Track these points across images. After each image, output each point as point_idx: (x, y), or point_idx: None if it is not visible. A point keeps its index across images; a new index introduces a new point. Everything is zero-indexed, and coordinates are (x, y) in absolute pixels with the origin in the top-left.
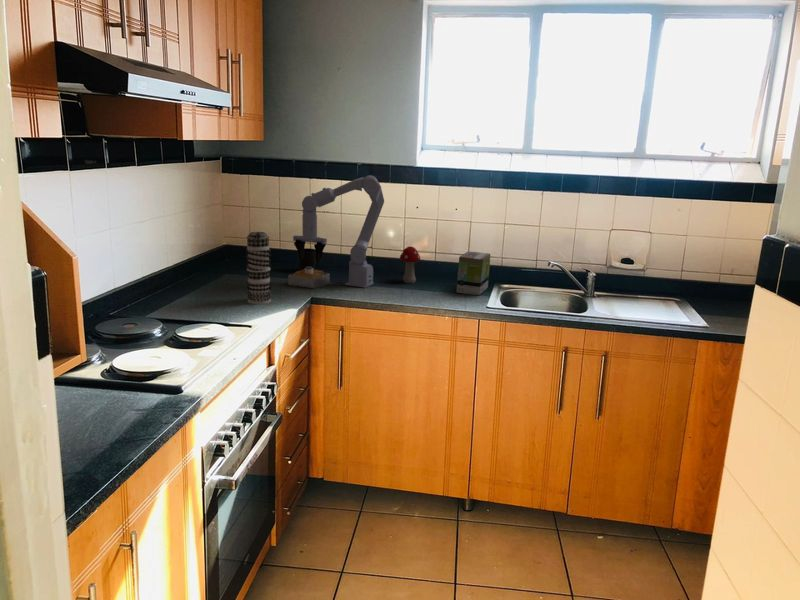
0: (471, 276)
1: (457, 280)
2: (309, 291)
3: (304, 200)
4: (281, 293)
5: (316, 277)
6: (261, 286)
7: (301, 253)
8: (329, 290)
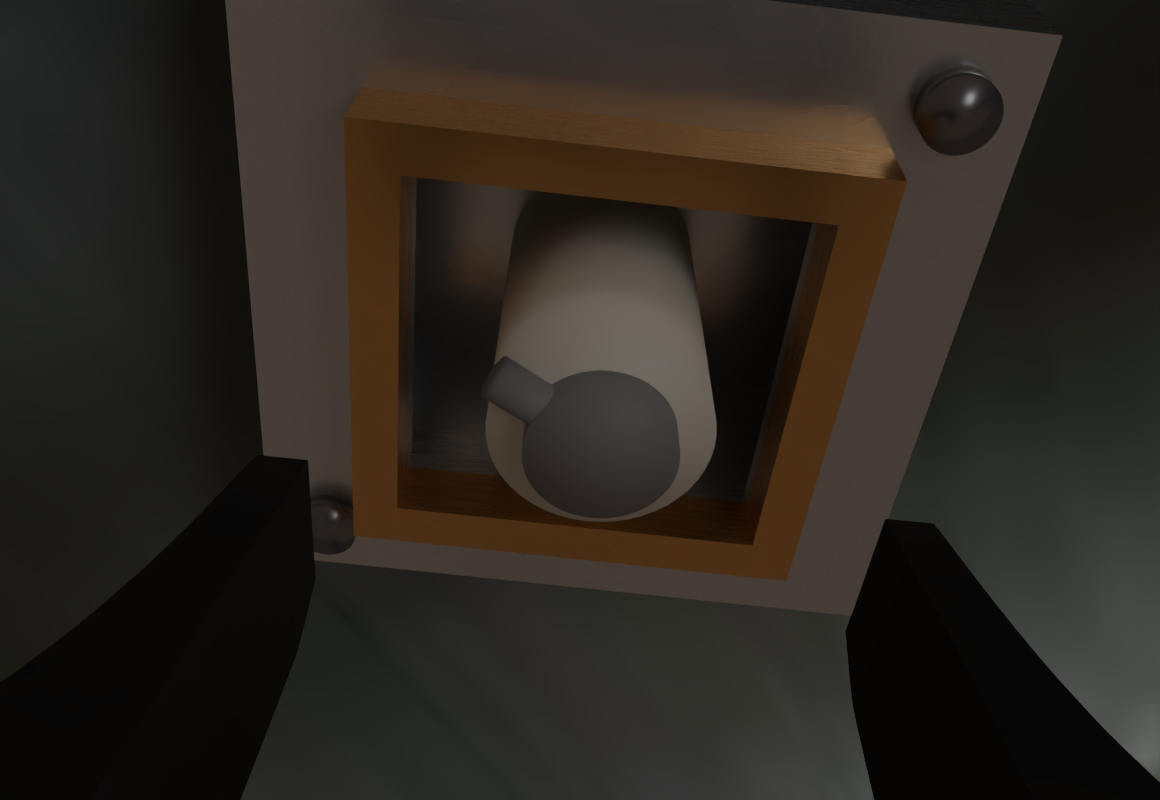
0: None
1: None
2: (810, 614)
3: None
4: (509, 779)
5: (859, 505)
6: None
7: (250, 696)
8: (1108, 476)
